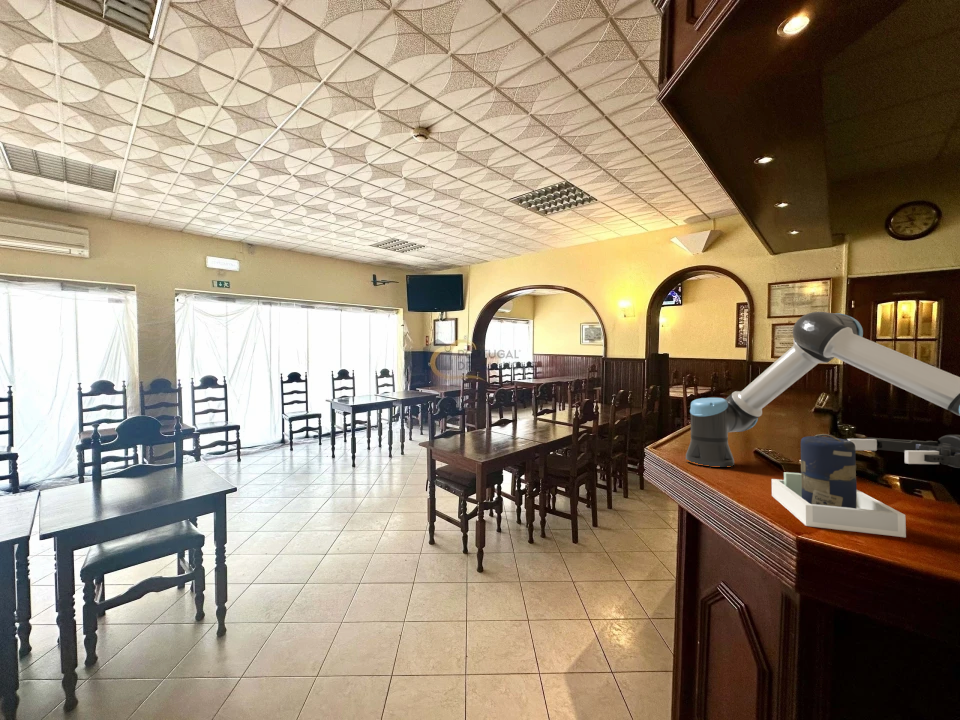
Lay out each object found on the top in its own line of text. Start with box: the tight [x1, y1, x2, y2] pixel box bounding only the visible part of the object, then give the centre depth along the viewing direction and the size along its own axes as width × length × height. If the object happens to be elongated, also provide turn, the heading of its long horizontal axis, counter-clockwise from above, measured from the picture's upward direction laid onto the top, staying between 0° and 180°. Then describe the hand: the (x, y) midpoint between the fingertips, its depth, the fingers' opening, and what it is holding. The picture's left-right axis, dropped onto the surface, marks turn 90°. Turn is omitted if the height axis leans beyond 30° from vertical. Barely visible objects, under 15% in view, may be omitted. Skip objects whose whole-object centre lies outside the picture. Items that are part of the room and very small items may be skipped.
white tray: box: [771, 478, 907, 538], centre depth 93 cm, size 22×16×4 cm
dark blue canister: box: [800, 433, 858, 508], centre depth 90 cm, size 10×10×18 cm
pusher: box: [783, 471, 802, 497], centre depth 99 cm, size 2×13×6 cm, turn 69°
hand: (875, 450), depth 92 cm, fingers open, 13 cm apart
